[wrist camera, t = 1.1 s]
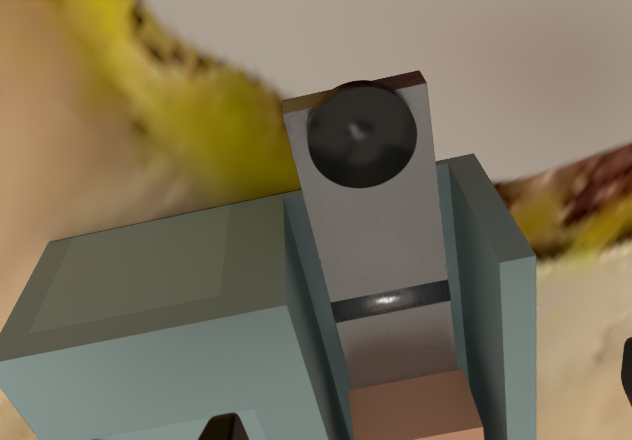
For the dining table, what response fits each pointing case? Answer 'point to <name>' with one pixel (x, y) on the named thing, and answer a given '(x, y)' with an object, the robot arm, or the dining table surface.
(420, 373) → the lever
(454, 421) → the salmon orange rectangular block
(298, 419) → the jig
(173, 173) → the dining table surface
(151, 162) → the dining table surface
